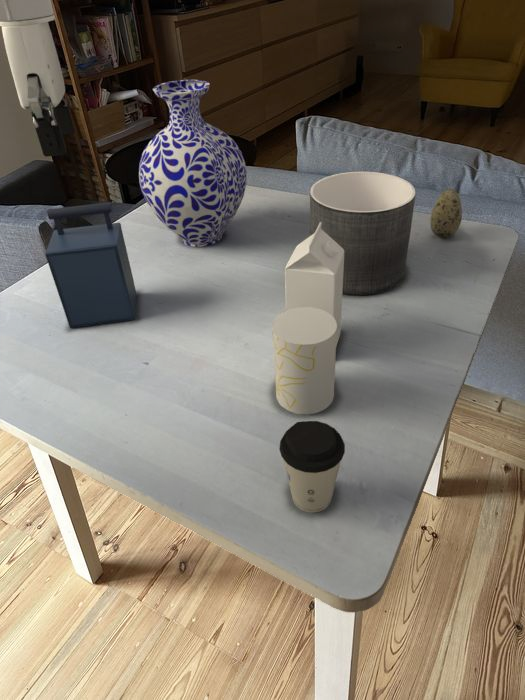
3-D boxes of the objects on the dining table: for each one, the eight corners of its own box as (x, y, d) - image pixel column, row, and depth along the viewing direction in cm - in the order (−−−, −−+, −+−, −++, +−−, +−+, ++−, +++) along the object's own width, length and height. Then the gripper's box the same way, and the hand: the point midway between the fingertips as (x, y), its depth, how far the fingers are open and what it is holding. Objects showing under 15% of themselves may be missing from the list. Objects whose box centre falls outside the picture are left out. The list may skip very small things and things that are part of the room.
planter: (315, 299, 94) (316, 215, 85) (305, 251, 108) (305, 174, 99) (415, 292, 94) (428, 208, 85) (393, 245, 108) (401, 168, 98)
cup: (264, 392, 76) (259, 324, 69) (305, 367, 80) (305, 300, 73) (303, 423, 71) (303, 353, 64) (346, 394, 75) (350, 325, 68)
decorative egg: (431, 228, 113) (438, 182, 107) (460, 232, 111) (469, 185, 105) (424, 240, 109) (431, 193, 103) (455, 245, 107) (464, 197, 101)
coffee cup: (352, 487, 63) (357, 428, 57) (324, 532, 58) (325, 473, 52) (301, 463, 66) (300, 405, 60) (270, 504, 62) (265, 445, 55)
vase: (132, 238, 117) (99, 90, 98) (210, 207, 128) (193, 68, 109) (190, 272, 104) (165, 109, 85) (271, 235, 115) (264, 82, 96)
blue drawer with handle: (110, 219, 81) (114, 197, 88) (36, 228, 80) (46, 205, 87) (134, 319, 92) (136, 292, 99) (69, 328, 91) (76, 300, 98)
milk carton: (286, 354, 83) (283, 242, 71) (298, 327, 88) (296, 219, 76) (332, 360, 81) (336, 247, 69) (340, 333, 86) (346, 223, 74)
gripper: (6, 4, 75) (43, 130, 86) (-26, 20, 62) (23, 167, 73) (60, 0, 76) (91, 125, 87) (41, 14, 63) (80, 161, 73)
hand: (60, 144), depth 80 cm, fingers open, 9 cm apart
